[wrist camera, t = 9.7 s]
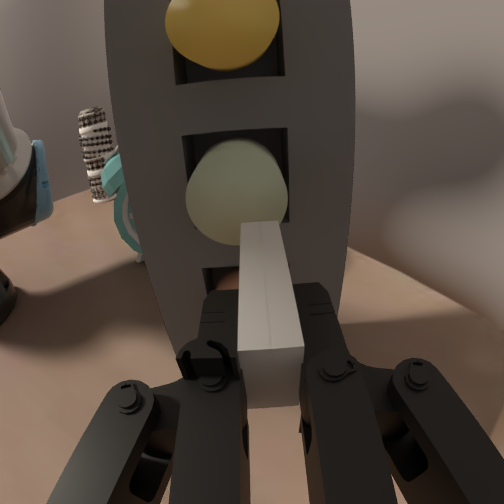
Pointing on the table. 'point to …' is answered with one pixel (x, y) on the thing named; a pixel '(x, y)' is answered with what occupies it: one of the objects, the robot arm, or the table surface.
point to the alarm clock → (120, 201)
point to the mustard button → (222, 31)
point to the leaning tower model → (95, 148)
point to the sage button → (235, 189)
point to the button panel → (226, 126)
